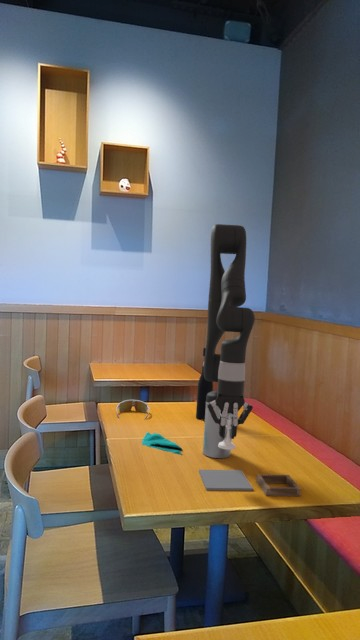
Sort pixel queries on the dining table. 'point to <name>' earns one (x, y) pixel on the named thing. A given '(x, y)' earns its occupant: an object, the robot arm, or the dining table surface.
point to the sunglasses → (137, 404)
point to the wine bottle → (202, 393)
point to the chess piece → (227, 436)
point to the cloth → (160, 443)
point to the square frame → (278, 491)
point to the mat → (225, 480)
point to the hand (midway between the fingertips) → (227, 437)
